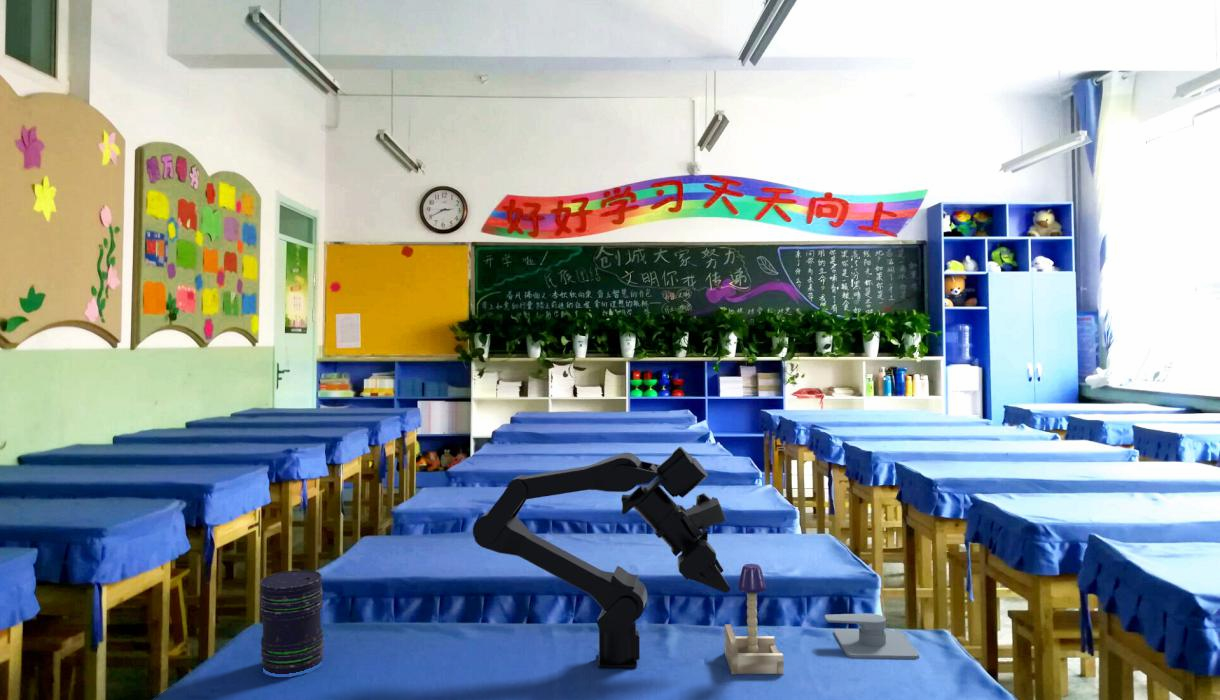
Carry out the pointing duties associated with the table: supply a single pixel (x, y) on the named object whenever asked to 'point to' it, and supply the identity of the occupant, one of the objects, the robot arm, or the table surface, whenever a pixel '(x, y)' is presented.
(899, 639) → the shower valve
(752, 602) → the toy lamp
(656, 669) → the table surface
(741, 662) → the birch bracket
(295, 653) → the storage jar
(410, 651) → the table surface
